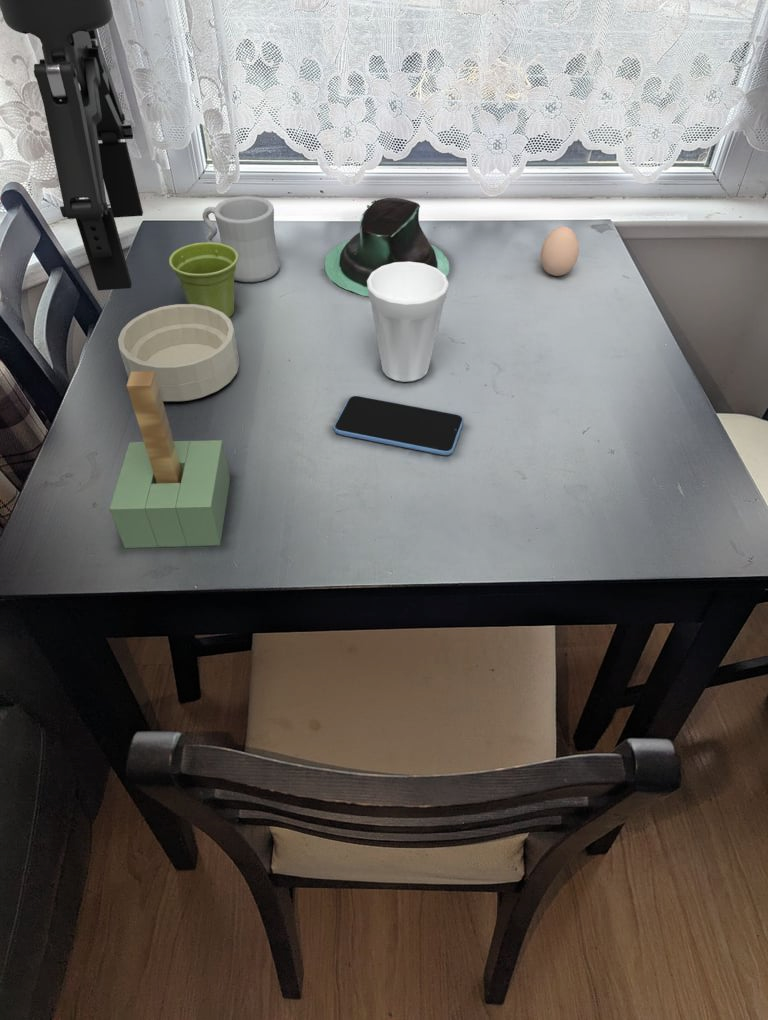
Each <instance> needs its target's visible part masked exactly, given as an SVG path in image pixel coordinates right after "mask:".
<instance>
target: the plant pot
mask: <svg viewBox="0 0 768 1020" xmlns="http://www.w3.org/2000/svg"><path fill="white" fill-rule="evenodd" d="M213 242H214V241H213ZM213 242H212V243H211V242H207V241H206V242H196V243H191V244H188V245H185V246H181V247H180V248H178V249H176V250H174V251H173V253H172V254H170V256H169V259H168V262H169V265H170V268H171V269H172V270H173V271H174V273H175V275H176V277H177V278H178V279H179V282H180V285H181V287H182V290H183V292H184V295H185V299H186V302H187V304H197V305H203V306H208V307H211V308H214V309H216V310H218V311H221V312H223V313H224V314H225V315H226V316H227V317H228V318H229V319H231V317H232V316H233V315H234V312H235V280H234V272H235V270H236V263H237V261H238V254H237V252H236V251H235V250H234V249H233V248H232V247H230V246H227V245H224V244H221V242H220V243H219V242H214V243H213Z"/></svg>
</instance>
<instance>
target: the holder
mask: <svg viewBox="0 0 768 1020" xmlns="http://www.w3.org/2000/svg"><path fill="white" fill-rule="evenodd" d="M223 443H224V442H223V440H222V439H215V440H174V444H175V448H176V451H177V455H178V459H179V462H180V466H181V470H182V473H183V475H182V480H181V483H159V484H157V482H156V479H155V476H154V473H153V469H152V466H151V463H150V460H149V457H148V453H147V450H146V447H145V444H144V441H130V442H129V443H128V445H127V449H126V451H125V452H126V453H125V455H124V459H123V462H122V466H121V469H120V472H119V476H118V479H117V483H116V486H115V489H114V492H113V495H112V499H111V502H110V506H109V512H110V515H111V517H112V520H113V522H114V525H115V528H116V530H117V532H118V535H119V538H120V540H121V543H122V545H123V548H124V549H139V548H141V549H144V548H175V547H176V548H177V547H181V548H182V547H207V546H208V547H209V546H210V547H212V546H213V547H214V546H221V543H222V537H223V530H224V524H225V517H226V516H225V515H226V510H227V504H228V498H229V497H228V496H229V490H230V483H231V476H230V471H229V467H228V462H227V458H226V453H225V447H224V444H223Z"/></svg>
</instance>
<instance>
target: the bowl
mask: <svg viewBox="0 0 768 1020" xmlns="http://www.w3.org/2000/svg"><path fill="white" fill-rule="evenodd" d="M117 343H118V350H119V353H120V356H121V360H122V362H123V366H124V369H125V373H126V376H127V379H128V380H129V377H130V374H131V372H139V371H155V374H156V378H157V382H158V385H159V389H160V393H161V396H162V400H163V402H187V401H193V400H198V399H201V398H204V397H207V396H209V395H212V394H214V393H217V392H219V391H220V390H221V389H223V388H224V387H225V386H227V385H228V384H229V383H231V382H232V380H233V379H234V378H235V377H236V375H237V374H238V371H239V368H240V367H239V366H240V357H239V351H238V343H237V338H236V332H235V327H234V325H233V322H232V319H231V318H228V317H227V316H226V315H225V314H224V313H223V312H221V311H218V310H216V309H214V308H211V307H208V306H203V305H197V304H188V303H182V304H181V303H176V304H170V305H164V306H159V307H157V308H154V309H153V308H152V309H150V310H147V311H145V312H143V313H141V314H139V315H137V316H136V317H133V319H131V320H130V321H129V322H128V323H127V324H125V326H124V327H123V328H121V331H120V333H119V336H118V338H117Z"/></svg>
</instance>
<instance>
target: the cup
mask: <svg viewBox="0 0 768 1020" xmlns="http://www.w3.org/2000/svg"><path fill="white" fill-rule="evenodd" d="M449 284H450V283H449V281H448V278H447V277H446V276H445V275H444V274H443V273H442V272H441V271H439V270H438V269H437V268H435V267H432V266H429V265H427V264H424V263H416V262H395V263H391V264H387V265H384V266H381V267H380V268H378V269H376V270H375V271H373V272H372V273H371V274H370V276H369V278H368V280H367V287H368V294H369V296H368V298H369V302H370V305H371V311H372V317H373V323H374V329H375V334H376V341H377V347H378V353H379V358H380V363H381V369H382V373H383V374H384V375H385V376H386V377H387V378H390V379H392V380H394V381H397V382H403V383H404V382H415V381H417V380H421V379H422V378H424V377H425V376H426V375H427V374H428V371H429V368H430V366H431V365H430V364H431V360H432V356H433V352H434V347H435V344H436V338H437V334H438V330H439V326H440V321H441V317H442V313H443V309H444V305H445V302H446V299H447V296H448V292H449V291H448V290H449V287H450V285H449Z"/></svg>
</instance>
